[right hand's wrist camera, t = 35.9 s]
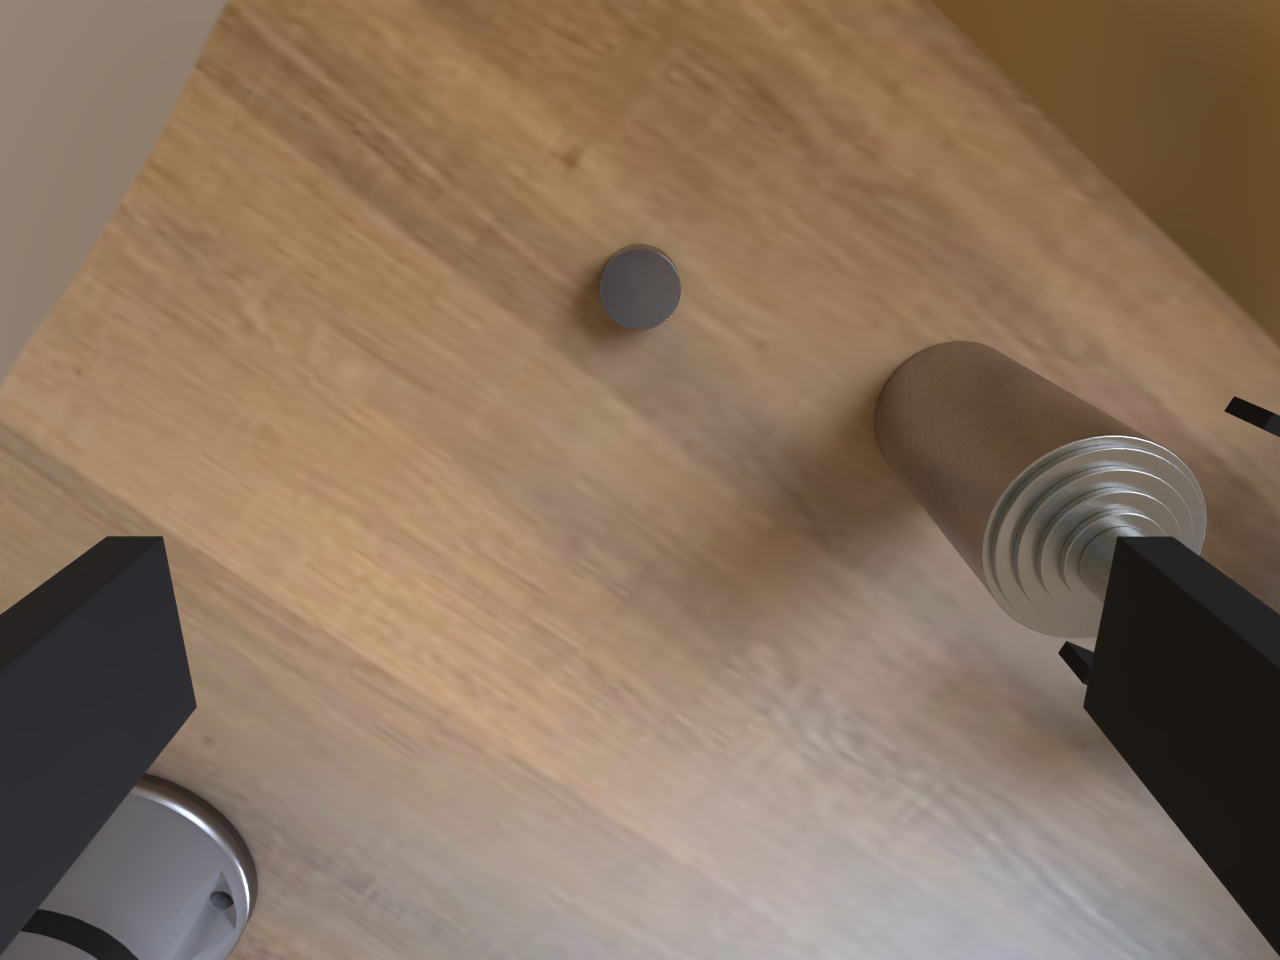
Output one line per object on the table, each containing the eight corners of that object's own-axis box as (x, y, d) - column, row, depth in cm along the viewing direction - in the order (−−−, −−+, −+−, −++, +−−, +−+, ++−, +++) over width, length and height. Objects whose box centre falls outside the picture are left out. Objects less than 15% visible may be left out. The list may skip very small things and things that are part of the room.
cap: (683, 317, 44) (684, 324, 42) (606, 327, 44) (605, 334, 42) (674, 239, 43) (675, 243, 41) (596, 249, 43) (594, 253, 41)
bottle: (843, 436, 46) (978, 629, 28) (942, 310, 44) (1160, 429, 25) (958, 514, 47) (1159, 747, 29) (1060, 396, 45) (1346, 567, 27)
